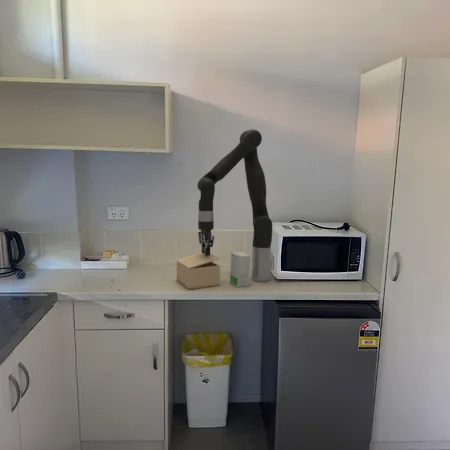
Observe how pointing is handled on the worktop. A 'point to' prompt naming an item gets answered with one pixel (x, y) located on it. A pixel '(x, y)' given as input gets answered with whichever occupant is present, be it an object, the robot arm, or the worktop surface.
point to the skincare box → (240, 269)
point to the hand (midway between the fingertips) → (205, 254)
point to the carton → (199, 276)
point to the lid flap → (197, 259)
